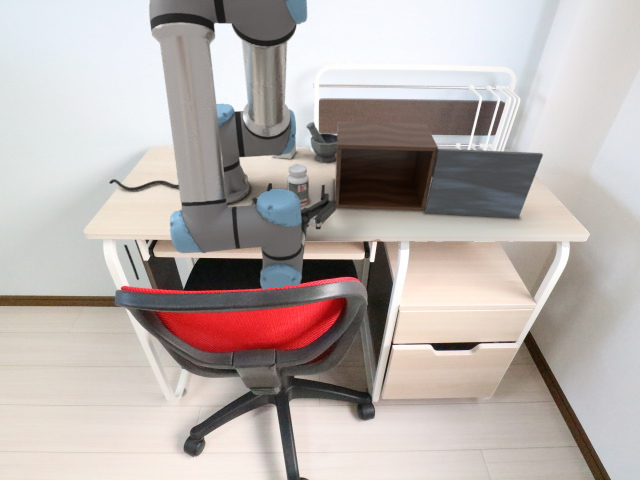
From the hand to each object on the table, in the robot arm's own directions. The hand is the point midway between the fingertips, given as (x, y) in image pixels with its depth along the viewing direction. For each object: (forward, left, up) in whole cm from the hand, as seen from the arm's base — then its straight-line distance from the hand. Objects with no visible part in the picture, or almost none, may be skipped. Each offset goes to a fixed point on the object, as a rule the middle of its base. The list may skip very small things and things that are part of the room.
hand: (297, 188), depth 99 cm
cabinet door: (+46, +2, -6) cm, 46 cm away
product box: (-7, +33, -6) cm, 35 cm away
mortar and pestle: (+6, +31, -6) cm, 33 cm away
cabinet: (+22, +8, -6) cm, 24 cm away
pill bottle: (0, +3, -6) cm, 7 cm away
